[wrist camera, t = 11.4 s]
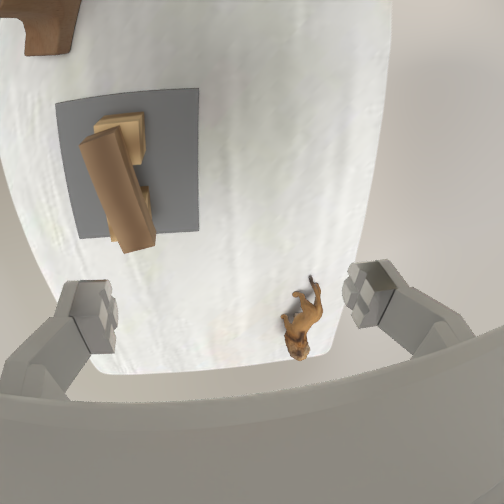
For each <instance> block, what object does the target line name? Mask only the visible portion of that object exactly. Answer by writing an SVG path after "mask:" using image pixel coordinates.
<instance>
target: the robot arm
mask: <svg viewBox="0 0 504 504" xmlns="http://www.w3.org/2000/svg"><path fill="white" fill-rule="evenodd" d="M347 272H348V274H349V277H348V278H347V279H346V280H345V281H344V283H343V287H342V296H343V300H344V303H345V305H346V306H347V307H348V308H350V309H352V314H351V316H352V318H353V320H354V322H355V323H356V325H357V327H358V328H359V329H360V328H366V327H373V326H378V327H379V328H380V329H381V330H383V331H384V332H385V333H387V334H388V335H389V336H390V337H391V338H392V339H394V340H395V341H396V342H397V343H398V344H400V345H401V346H402V347H403V348H405V349H406V350H407V351H408V352H410V353H411V354H412V355H413V356H412V358H411V359H410V360H408V361H405V362H401V363H398V364H394V365H391V366H387V367H384V368H380V369H376V370H372V371H369V372H365V373H361V374H357V375H352V376H348V377H344V378H340V379H335V380H330V381H326V382H321V383H316V384H311V385H306V386H300V387H295V388H289V389H283V390H277V391H271V392H264V393H256V394H249V395H241V396H232V397H223V398H213V399H201V400H188V401H170V402H142V403H141V402H139V403H138V402H135V403H115V402H114V403H113V402H82V401H70V399H69V398H68V397H67V396H66V395H65V392H66V391H67V389H68V388H69V386H70V385H71V383H72V382H73V380H74V379H75V377H76V376H77V375H78V373H79V372H80V370H81V369H82V368H83V366H84V365H85V363H86V362H87V360H88V359H89V358H90V356H91V355H90V354H112V353H115V344H116V335H115V332H114V330H115V329H116V328H117V326H118V308H117V303H116V300H115V298H114V297H112V296H111V293H112V286H111V283H110V281H109V280H80V281H67V282H65V284H64V286H63V289H62V292H61V295H60V298H59V301H58V304H57V307H56V311H55V314H54V317H49V318H48V319H47V320H46V321H45V322H44V323H43V324H42V325H41V326H40V327H39V328H38V329H37V330H36V331H35V332H34V333H33V334H32V335H31V336H30V337H29V338H28V339H27V340H25V341H24V342H23V344H21V345H20V346H19V348H17V349H16V351H14V353H12V355H11V356H10V357H9V358H8V359H7V360H6V361H5V364H4V368H3V371H2V375H1V378H0V504H504V325H503V326H501V327H498V328H496V329H494V330H491V331H489V332H487V333H484V334H482V335H479V336H477V337H476V336H475V335H474V333H473V332H472V330H471V329H470V327H469V326H468V325H467V323H466V322H465V321H464V319H463V318H462V316H461V315H460V314H458V313H457V312H455V311H453V310H452V309H450V308H448V307H446V306H445V305H443V304H442V303H440V302H438V301H437V300H435V299H433V298H431V297H430V296H428V295H426V294H425V293H422V292H421V291H419V290H418V289H416V288H414V287H409V286H408V284H407V283H406V281H405V280H404V279H403V277H402V276H401V275H400V273H399V272H398V271H397V269H396V268H395V267H394V265H393V264H392V263H391V262H390V261H389V260H388V259H383V260H375V261H366V262H355V263H351V264H350V266H349V268H348V271H347Z"/></svg>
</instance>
